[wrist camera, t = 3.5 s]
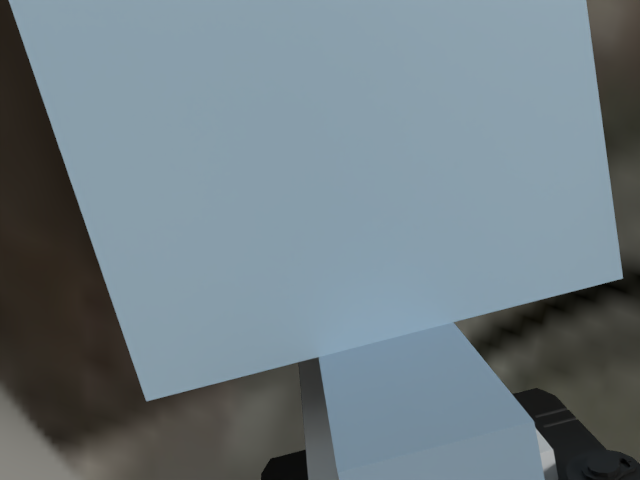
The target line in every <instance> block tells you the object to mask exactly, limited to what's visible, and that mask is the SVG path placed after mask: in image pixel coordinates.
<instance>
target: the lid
mask: <svg viewBox="0 0 640 480" xmlns="http://www.w3.org/2000/svg"><path fill="white" fill-rule="evenodd" d="M9 3H10V6H11V9H12V12H13V14H14V17H15V20H16V23H17V26H18V29H19V32H20V35H21V38H22V41H23V44H24V47H25V49H26V52H27V55H28V58H29V61H30V64H31V67H32V70H33V73H34V76H35V79H36V82H37V84H38V87H39V90H40V93H41V96H42V99H43V102H44V105H45V108H46V111H47V114H48V117H49V119H50V122H51V125H52V128H53V131H54V134H55V137H56V140H57V143H58V146H59V149H60V151H61V154H62V157H63V160H64V163H65V166H66V169H67V172H68V175H69V178H70V181H71V184H72V186H73V189H74V192H75V195H76V198H77V201H78V204H79V207H80V210H81V213H82V216H83V219H84V221H85V224H86V227H87V230H88V233H89V236H90V239H91V242H92V245H93V248H94V251H95V254H96V256H97V259H98V262H99V265H100V268H101V271H102V274H103V277H104V280H105V283H106V286H107V289H108V291H109V294H110V297H111V300H112V303H113V306H114V309H115V312H116V315H117V318H118V321H119V323H120V326H121V329H122V332H123V335H124V338H125V341H126V344H127V347H128V350H129V353H130V356H131V358H132V361H133V364H134V367H135V370H136V373H137V376H138V379H139V382H140V385H141V388H142V391H143V393H144V396H145V399H146V401H150V400H154V399H158V398H162V397H166V396H169V395H173V394H177V393H181V392H185V391H189V390H193V389H197V388H200V387H204V386H208V385H212V384H216V383H220V382H224V381H228V380H231V379H235V378H239V377H243V376H247V375H251V374H255V373H259V372H262V371H266V370H270V369H274V368H278V367H282V366H286V365H290V364H293V363H297V362H301V361H305V360H309V359H313V358H317V357H319V363H320V370H321V376H322V382H323V388H324V394H325V400H326V406H327V412H328V418H329V424H330V430H331V436H332V443H333V449H334V455H335V461H336V467H337V473H338V477H339V480H545V479H544V473H543V467H542V462H541V456H540V451H539V445H538V440H537V434H536V428H535V423H534V421H533V419H532V418H531V417H530V416H529V414H528V413H527V412H526V411H525V410H524V408H523V407H522V406H521V405H520V403H519V402H518V401H517V400H516V399H515V397H514V396H513V395H512V394H511V392H510V391H509V390H508V389H507V387H506V386H505V385H504V384H503V383H502V381H501V380H500V379H499V378H498V376H497V375H496V374H495V373H494V371H493V370H492V369H491V368H490V367H489V365H488V364H487V363H486V362H485V360H484V359H483V358H482V357H481V356H480V354H479V353H478V352H477V351H476V349H475V348H474V347H473V346H472V344H471V343H470V342H469V341H468V340H467V338H466V337H465V336H464V335H463V333H462V332H461V331H460V330H459V328H458V327H457V326H456V325H455V324H454V322H456V321H460V320H464V319H468V318H472V317H476V316H480V315H483V314H487V313H491V312H495V311H499V310H503V309H507V308H511V307H514V306H518V305H522V304H526V303H530V302H534V301H538V300H542V299H545V298H549V297H553V296H557V295H561V294H565V293H569V292H573V291H576V290H580V289H584V288H588V287H592V286H596V285H600V284H604V283H607V282H611V281H615V280H619V279H623V274H622V266H621V259H620V251H619V244H618V236H617V229H616V221H615V214H614V206H613V199H612V191H611V184H610V176H609V168H608V161H607V153H606V146H605V138H604V131H603V123H602V116H601V108H600V101H599V93H598V86H597V78H596V71H595V63H594V56H593V48H592V41H591V33H590V26H589V18H588V11H587V3H586V0H9Z"/></svg>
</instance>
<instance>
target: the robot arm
mask: <svg viewBox="0 0 640 480" xmlns="http://www.w3.org/2000/svg"><path fill="white" fill-rule="evenodd" d="M299 374H300V386H301V398H302V410H303V422H304V434H305V446H306V450H303V451H299V452H295V453H291V454H287V455H283V456H280V457H276V458H272V459H270V460H269V462H268V464H267V465H266V467H265V469H264V470H263V472H262V474H261V480H339V477H338V473H337V467H336V461H335V455H334V449H333V443H332V436H331V430H330V424H329V418H328V412H327V406H326V400H325V394H324V388H323V382H322V376H321V370H320V363H319V357H317V358H313V359H309V360H305V361H301V362H299ZM512 395H513V396H514V397H515V399H516V400H517V401H518V402H519V403H520V405H521V406H522V407H523V408H524V410H525V411H526V412H527V413H528V414H529V416H530V417H531V418H532V419H533V421H534V423H535V428H536V434H537V440H538V445H539V451H540V456H541V462H542V467H543V473H544V479H545V480H640V464H639V463H638V462H637V461H636V460H635V459H633V458H632V457H630V456H628V455H625V454H623V453H621V452H616V451H610V450H606V448H605V447H604V446H603V445H602V444H601V443H600V442H599V441H598V440H597V439H596V438H595V437H594V436H593V435H592V434H591V433H590V432H589V431H588V430H587V429H586V428H585V427H584V425H583V424H582V423H581V422H580V421H579V420H578V419H577V420H576V417H575V416H574V415H573V414H572V413H571V412H570V411H569V410H567V408H566V407H565V406H564V405H563V404H562V402H561V401H560V400H559V399H558V398H557V397H556V396H554V395H552V394H550V393H548V392H545V391H543V390H541V389H539V388H535V389H531V390H527V391H523V392H519V393H516V394H512Z"/></svg>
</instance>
